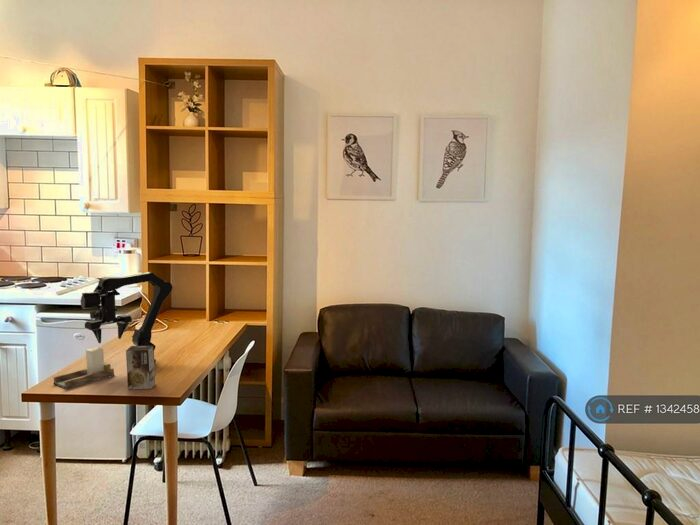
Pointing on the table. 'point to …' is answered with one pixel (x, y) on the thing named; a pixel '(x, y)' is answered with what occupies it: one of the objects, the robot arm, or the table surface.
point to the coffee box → (140, 367)
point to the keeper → (94, 360)
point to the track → (82, 377)
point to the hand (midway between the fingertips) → (109, 341)
